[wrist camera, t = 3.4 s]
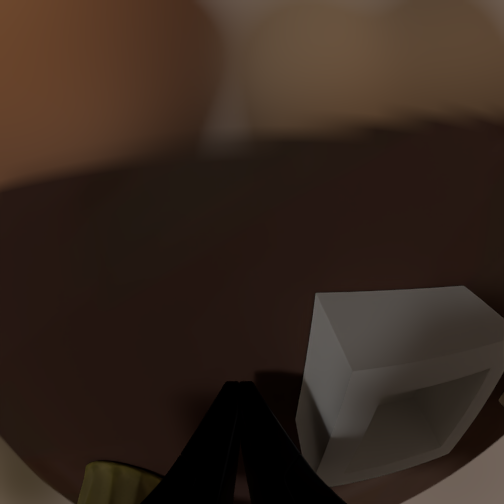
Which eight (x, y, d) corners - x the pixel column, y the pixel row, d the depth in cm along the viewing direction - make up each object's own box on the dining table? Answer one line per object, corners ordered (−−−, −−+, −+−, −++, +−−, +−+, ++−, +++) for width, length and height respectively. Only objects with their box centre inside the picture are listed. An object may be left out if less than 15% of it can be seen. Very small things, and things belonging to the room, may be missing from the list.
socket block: (418, 399, 11) (448, 453, 8) (295, 419, 11) (308, 489, 8) (463, 285, 9) (521, 334, 6) (315, 292, 9) (352, 371, 6)
